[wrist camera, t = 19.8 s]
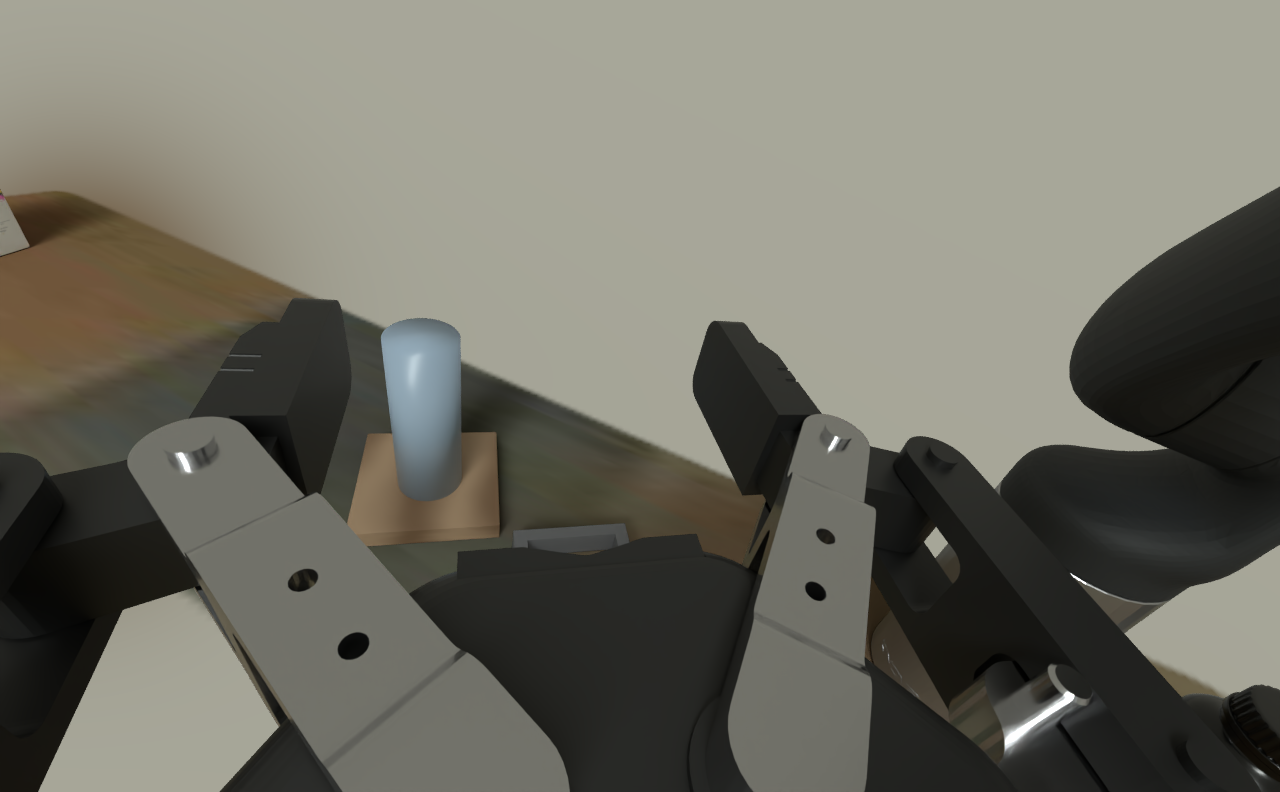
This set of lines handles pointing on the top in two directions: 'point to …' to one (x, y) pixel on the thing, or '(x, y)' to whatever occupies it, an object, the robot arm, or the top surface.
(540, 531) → the square grey frame
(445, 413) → the canister
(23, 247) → the ink cartridge box
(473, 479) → the walnut board
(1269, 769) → the supplement bottle
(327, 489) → the top surface
